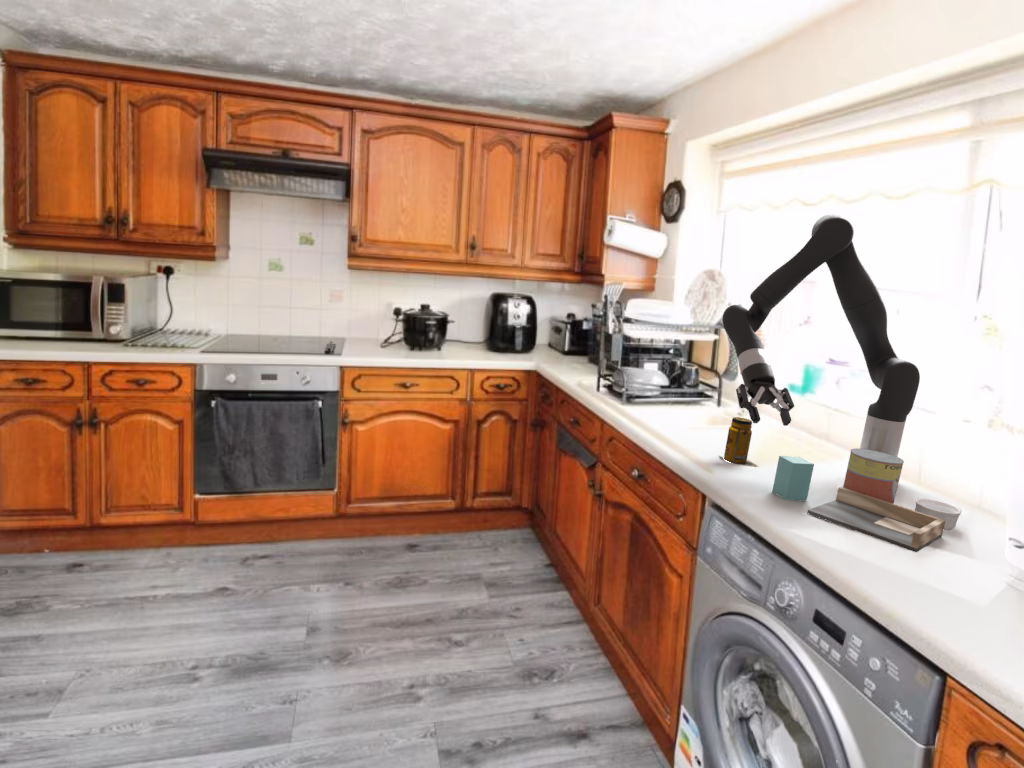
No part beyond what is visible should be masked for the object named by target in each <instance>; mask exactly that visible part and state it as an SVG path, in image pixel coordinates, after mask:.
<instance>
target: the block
mask: <svg viewBox="0 0 1024 768" xmlns="http://www.w3.org/2000/svg"><path fill="white" fill-rule="evenodd" d="M814 467H815V464H814V463H812V462H811V461H809V460H807V459H805V458H803V457H800V456H792V455H791V456H789V455H788V456H787V455H786V456H785V455H779V456H778V462H777V465H776V472H775V477H774V480H773V482H774V483H773V487H772V493H774V494H776V495H777V496H779V497H780V498H782V499H784V500H786V501H800V500H807V501H808V496H809V491H810V486H811V482H812V475H813V472H814Z"/></svg>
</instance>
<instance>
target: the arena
mask: <svg viewBox="0 0 1024 768" xmlns="http://www.w3.org/2000/svg"><path fill="white" fill-rule="evenodd" d="M808 513H809V514H808ZM806 514H808V515H811V516H813V515H814V517H816V516H817V518H819V517H820V519H822V518H823V519H822V520H824V519H826V520H825V521H827V520H828V521H827V522H830V521H831V522H830V523H833V524H836V525H838V524H839V526H841V527H845V528H847V529H849V530H853V531H856V532H858V533H861V534H864V535H867V536H870V537H872V538H874V539H877V540H881V541H884V542H886V543H889V544H892V545H895V546H897V547H900V548H902V549H906V550H908V551H911V552H915V553H918V552H919V551H921V550H923V549H924V548H926V547H927V546H929V545H931V544H933V543H934V542H936V541H937V540H940V539H941V538H942V536H943V532H944V530H943V529H944V525H945V521H946V520H943V519H940V518H937V517H933V516H930V515H927V514H924V513H921V512H918V511H915V509H912V508H908V507H904V506H902V505H898V504H896V503H894V504H893V503H889V502H886V501H883V500H880V499H877V498H874V497H871V496H867V495H864V494H861V493H858V492H855V491H852V490H849V489H846V488H843V486H839V487H838V489H837V493H836V498H835V500H834V499H833V500H831V501H828V502H826V503H822V504H821V505H818V506H815V507H812V508H809V509H808V510H807V513H806Z"/></svg>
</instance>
